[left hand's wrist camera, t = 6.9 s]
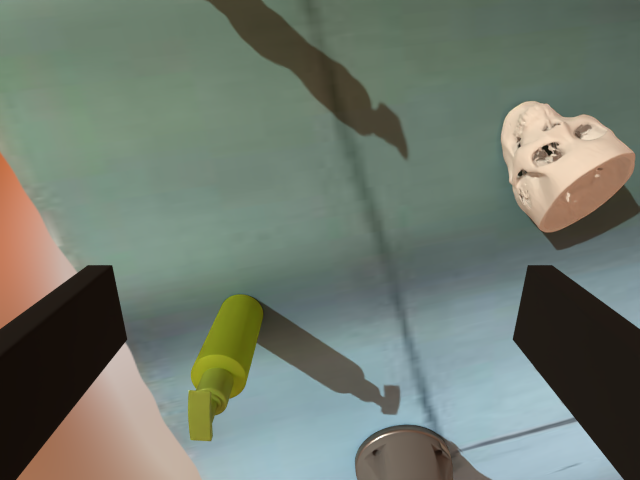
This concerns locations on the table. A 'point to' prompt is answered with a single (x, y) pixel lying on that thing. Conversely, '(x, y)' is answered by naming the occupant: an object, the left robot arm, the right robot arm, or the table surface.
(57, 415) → the left robot arm
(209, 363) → the soap dispenser
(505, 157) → the skull bowl
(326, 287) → the table surface
